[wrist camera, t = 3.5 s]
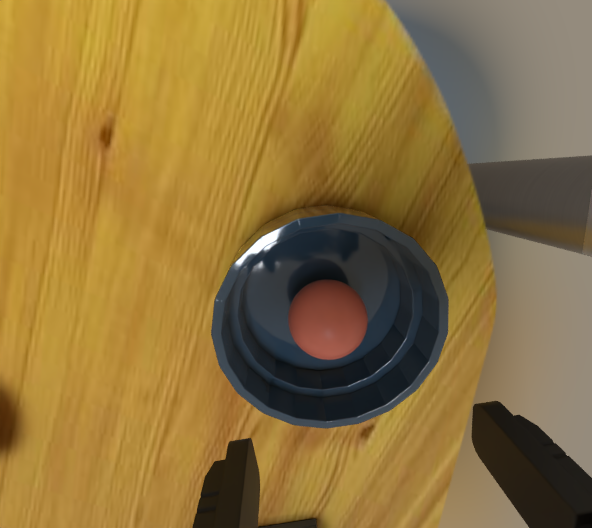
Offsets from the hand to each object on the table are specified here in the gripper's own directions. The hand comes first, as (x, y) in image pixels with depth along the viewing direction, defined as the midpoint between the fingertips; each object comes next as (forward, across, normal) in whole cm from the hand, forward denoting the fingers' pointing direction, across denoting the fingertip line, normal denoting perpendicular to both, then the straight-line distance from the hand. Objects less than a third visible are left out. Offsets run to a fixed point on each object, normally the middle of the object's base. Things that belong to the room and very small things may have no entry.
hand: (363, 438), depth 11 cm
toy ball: (+9, 0, 0) cm, 9 cm away
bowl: (+12, 0, 0) cm, 13 cm away
